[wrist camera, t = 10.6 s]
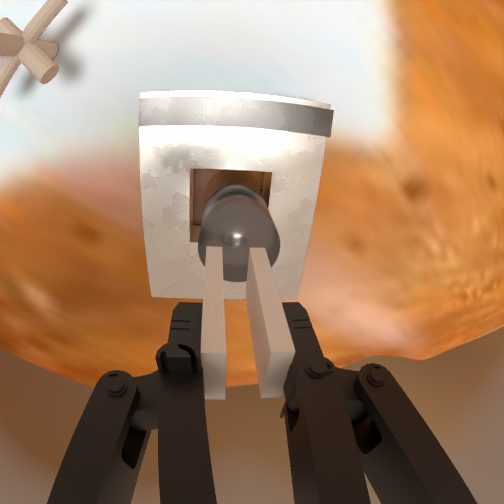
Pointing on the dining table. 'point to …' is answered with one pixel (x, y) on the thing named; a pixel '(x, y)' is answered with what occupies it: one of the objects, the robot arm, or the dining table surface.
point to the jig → (233, 158)
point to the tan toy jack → (29, 46)
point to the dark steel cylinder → (236, 223)
